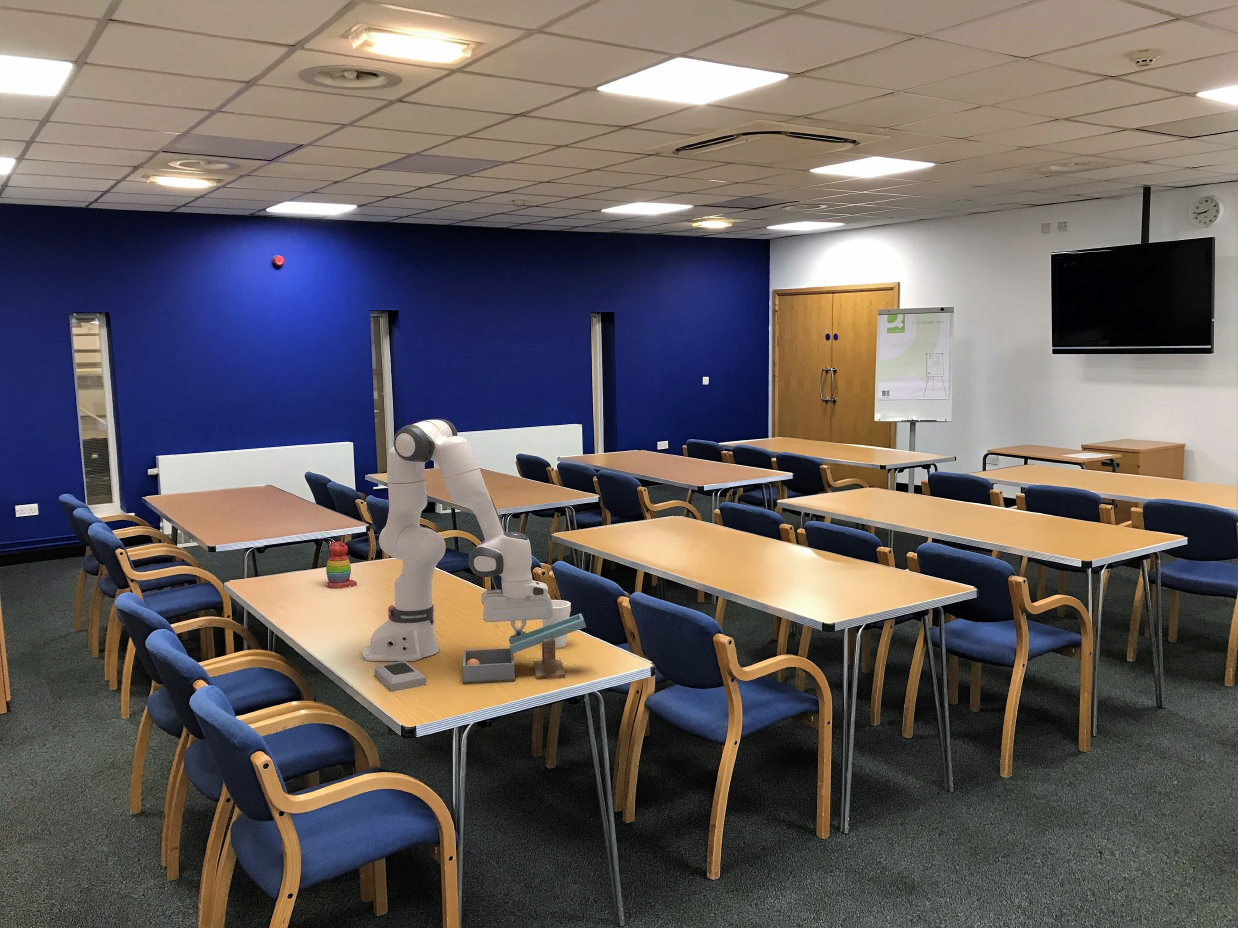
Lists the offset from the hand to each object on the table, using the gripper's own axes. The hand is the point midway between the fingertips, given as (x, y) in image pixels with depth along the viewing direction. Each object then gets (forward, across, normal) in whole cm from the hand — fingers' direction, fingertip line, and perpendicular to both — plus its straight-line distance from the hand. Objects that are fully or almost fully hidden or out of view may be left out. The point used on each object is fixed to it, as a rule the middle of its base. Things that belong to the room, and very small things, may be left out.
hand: (518, 634), depth 269 cm
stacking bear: (+8, -67, +107) cm, 127 cm away
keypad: (+9, -34, -8) cm, 36 cm away
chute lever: (-1, +8, -3) cm, 9 cm away
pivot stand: (+9, +8, -6) cm, 14 cm away
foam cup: (+9, +12, +18) cm, 23 cm away
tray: (+9, -9, -6) cm, 14 cm away
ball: (+6, -13, -6) cm, 16 cm away
